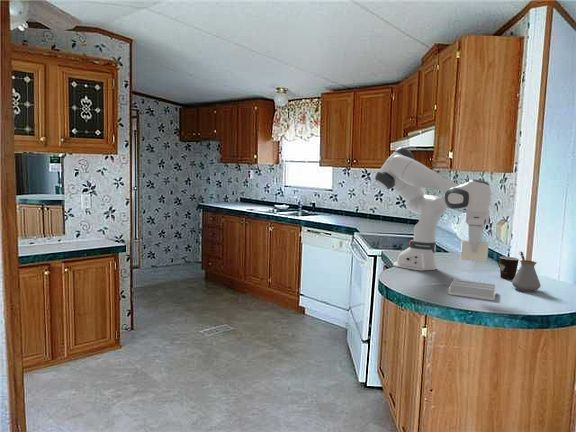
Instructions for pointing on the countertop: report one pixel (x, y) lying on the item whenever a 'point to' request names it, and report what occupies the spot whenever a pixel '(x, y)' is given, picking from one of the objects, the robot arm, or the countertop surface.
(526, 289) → the coffee pot
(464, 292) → the dish rack
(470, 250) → the ceramic tile
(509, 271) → the coffee mug
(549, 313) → the countertop surface
